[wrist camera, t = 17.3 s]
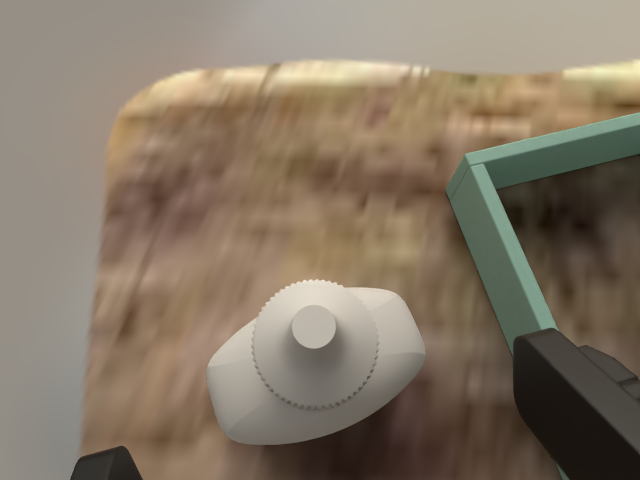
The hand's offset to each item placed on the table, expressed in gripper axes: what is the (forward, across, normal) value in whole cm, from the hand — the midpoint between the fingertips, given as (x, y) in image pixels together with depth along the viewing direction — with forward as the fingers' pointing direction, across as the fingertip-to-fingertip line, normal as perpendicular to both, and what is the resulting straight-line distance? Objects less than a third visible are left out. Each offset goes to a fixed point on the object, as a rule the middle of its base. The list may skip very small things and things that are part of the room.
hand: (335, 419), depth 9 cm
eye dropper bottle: (+8, 0, -6) cm, 10 cm away
